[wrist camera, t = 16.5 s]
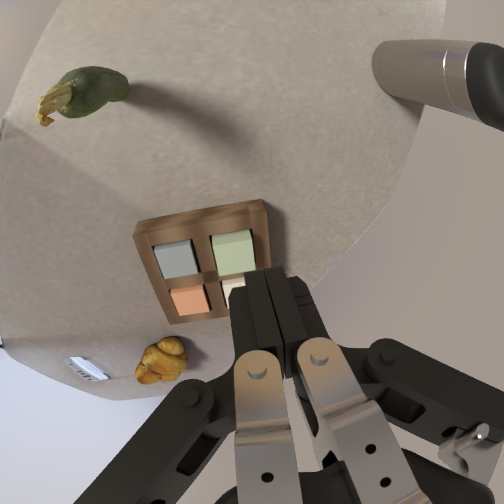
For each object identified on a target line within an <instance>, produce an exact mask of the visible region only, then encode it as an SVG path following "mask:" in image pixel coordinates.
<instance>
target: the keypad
mask: <svg viewBox="0 0 504 504" xmlns="http://www.w3.org/2000/svg"><path fill="white" fill-rule="evenodd" d="M245 229H249V231H250V235H251V238H252V245H253V253H254V261H255V269H256V270H260V269H262V271H263V269H265V268H270V267H271V256H270V244H269V232H268V220H267V211H266V209H265V206H264V204H263V202H262V200H261V199H258V200H252V201H245V202H239V203H233V204H227V205H221V206H215V207H210V208H204V209H199V210H193V211H188V212H183V213H178V214H173V215H168V216H163V217H158V218H153V219H148V220H144V221H139V222H138V223H137V226H136V228H135V231H134V233H133V235H132V237H133V239H134V242H135V245H136V247H137V250H138V252H139V255H140V258H141V260H142V263H143V265H144V267H145V270H146V272H147V275H148V277H149V279H150V282H151V284H152V286H153V289H154V291H155V293H156V295H157V298H158V300H159V302H160V304H161V306H162V309H163V311H164V313H165V315H166V317H167V319H168V321H169V323H170V325H171V324H179V323H186V322H193V321H200V320H207V319H213V318H220V317H226V316H230V311H229V308H228V306H227V302H226V298H225V294H224V290H223V285H222V281H224V280H230V279H236V278H241V277H244V274H243V272H241V273H236V274H230V275H224V276H219V272H218V268H217V264H216V259H215V255H214V250H213V245H212V235H216V234H221V233H227V232H233V231H239V230H245ZM188 239H192V240H193V243H194V247H195V251H196V255H197V258H198V274H192V275H186V276H180V277H174V278H168V279H164V276H163V274H162V271H161V268H160V266H159V263H158V260H157V258H156V255H155V252H154V249H155V245H161V244H166V243H171V242H177V241H182V240H188ZM253 271H254V270H253ZM247 272H248V271H247ZM200 284H205V287H206V290H207V294H208V297H209V310H210V312H203V313H197V314H190V315H183V316H179V313H178V311H177V309H176V306H175V304H174V301H173V299H172V297H171V289H175V288H181V287H188V286H194V285H200Z"/></svg>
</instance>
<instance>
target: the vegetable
mask: <svg viewBox="0 0 504 504" xmlns="http://www.w3.org/2000/svg"><path fill="white" fill-rule="evenodd" d="M129 89H130V87H129V83H128V80H127V78H126V77H125V76H124V75H122V74H121V73H119V72H117V71H114V70H111V69H108V68H103V67H95V66H89V67H82V68H78V69H75V70H72V71H70V72H68V73H67V74H65V75H64V76H63V77H62V79H61V80H60V81H59V82H58V84H57V85H55V86H54V87H52V88H51V89H50V90H49V91H48V92H47V93H46V94H45V96H42V97H40V99H39V102H38V110H37V112H36V117H37V118H38V122H39V123H40V124H41V125H42V126H45V127H46V126H48V125H49V124H50V123H51V122H54V119H51V118H50V117H47V115H49V114H51V113H53V112H55V111H56V110H57V111H58V112H59V113H60V114H61V115H63V116H64V117H67V118H80V117H84V116H87V115H89V114H91V113H93V112H95V111H97V110H98V109H100V108H101V107H102V106H104V105H105V104H106V103H107V102H117V101H122V100H123V99H124V98H125V97H126V96H127V94H128V92H129Z"/></svg>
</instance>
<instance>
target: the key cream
mask: <svg viewBox="0 0 504 504" xmlns="http://www.w3.org/2000/svg"><path fill="white" fill-rule="evenodd" d="M222 285H223V290H224V294H225V298H226V302H227V306H228V308H229V303H228V297H229V294H230V292H231V290H232V288H234V287H240V286H245V280H244V277H241V278H236V279H230V280H224V281H222Z"/></svg>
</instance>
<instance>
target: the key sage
mask: <svg viewBox="0 0 504 504" xmlns="http://www.w3.org/2000/svg"><path fill="white" fill-rule="evenodd" d="M212 245H213V250H214V255H215V259H216V264H217V268H218V272H219V276H224V275H230V274H236V273H241V272H247V271H253V270H256V269H255V261H254V253H253V245H252V238H251V235H250V231H249V229H245V230H239V231H233V232H227V233H221V234H216V235H212Z"/></svg>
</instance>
